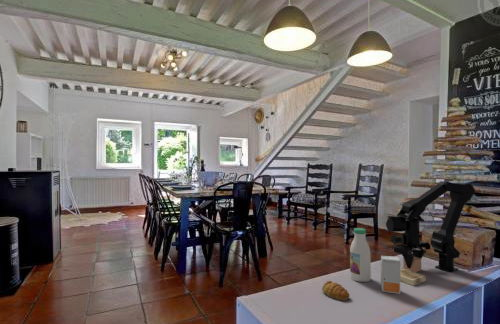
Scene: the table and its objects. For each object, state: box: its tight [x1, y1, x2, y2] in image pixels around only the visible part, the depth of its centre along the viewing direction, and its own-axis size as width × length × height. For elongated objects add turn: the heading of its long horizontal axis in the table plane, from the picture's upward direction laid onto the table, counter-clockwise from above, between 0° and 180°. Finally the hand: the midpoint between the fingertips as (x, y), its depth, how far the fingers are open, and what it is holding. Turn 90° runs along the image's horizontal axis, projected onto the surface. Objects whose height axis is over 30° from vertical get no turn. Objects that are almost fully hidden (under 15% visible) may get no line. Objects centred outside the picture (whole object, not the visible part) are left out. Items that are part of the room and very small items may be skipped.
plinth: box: [400, 268, 427, 286], centre depth 111 cm, size 9×9×2 cm
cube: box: [402, 256, 422, 273], centre depth 122 cm, size 5×5×5 cm
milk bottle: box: [349, 227, 372, 283], centre depth 112 cm, size 8×8×20 cm
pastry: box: [321, 280, 350, 302], centre depth 98 cm, size 9×7×4 cm
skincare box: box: [380, 255, 401, 295], centre depth 101 cm, size 6×4×12 cm
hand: (412, 267), depth 122 cm, fingers closed on cube, 5 cm apart
